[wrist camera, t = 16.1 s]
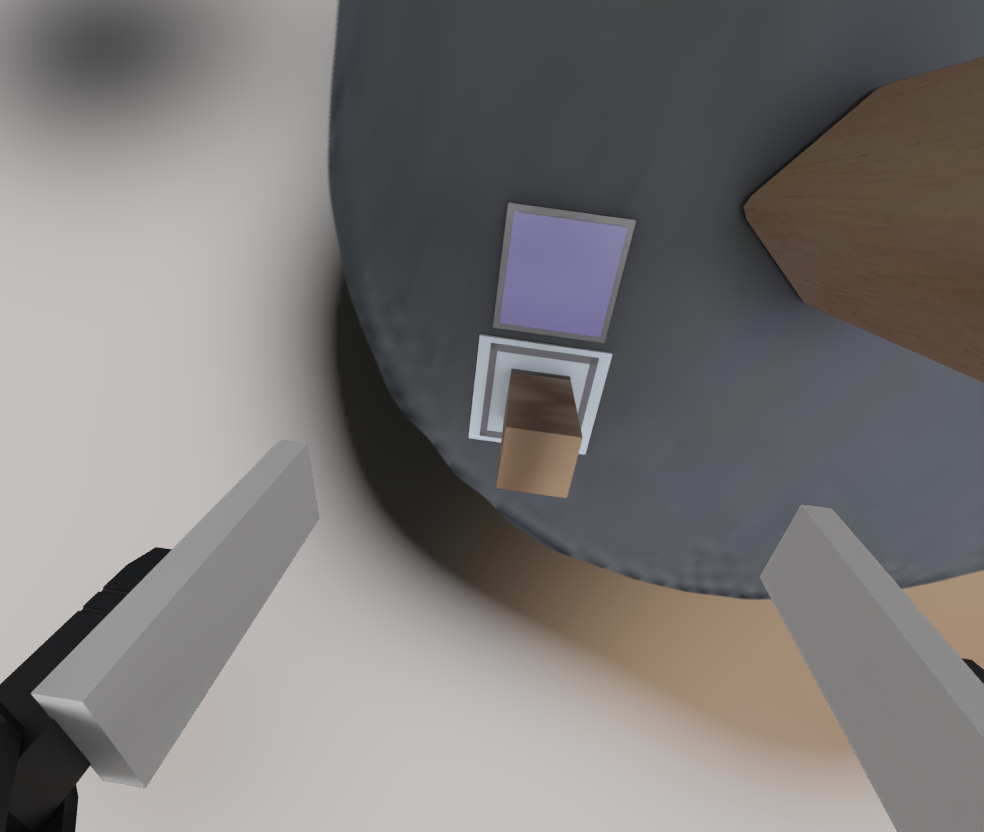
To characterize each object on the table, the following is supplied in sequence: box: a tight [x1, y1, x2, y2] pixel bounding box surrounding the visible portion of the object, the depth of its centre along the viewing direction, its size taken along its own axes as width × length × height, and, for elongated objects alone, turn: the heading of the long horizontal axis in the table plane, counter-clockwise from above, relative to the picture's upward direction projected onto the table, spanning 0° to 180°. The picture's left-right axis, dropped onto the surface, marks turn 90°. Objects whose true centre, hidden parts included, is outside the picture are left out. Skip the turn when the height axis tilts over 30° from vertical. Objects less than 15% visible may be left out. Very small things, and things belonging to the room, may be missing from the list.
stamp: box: [496, 368, 583, 498], centre depth 33 cm, size 5×5×10 cm
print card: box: [469, 334, 612, 455], centre depth 38 cm, size 11×10×1 cm
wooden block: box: [744, 57, 984, 383], centre depth 21 cm, size 10×10×20 cm
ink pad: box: [493, 202, 636, 343], centre depth 33 cm, size 9×9×1 cm
